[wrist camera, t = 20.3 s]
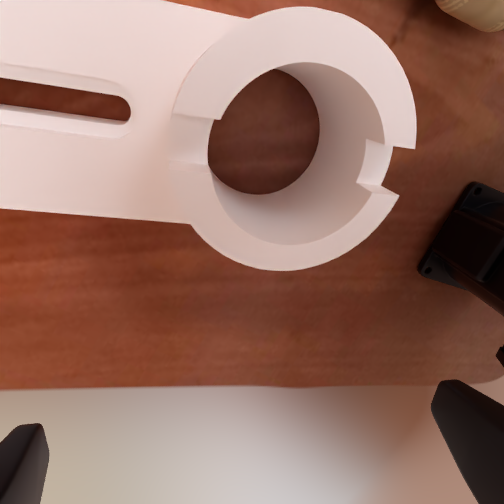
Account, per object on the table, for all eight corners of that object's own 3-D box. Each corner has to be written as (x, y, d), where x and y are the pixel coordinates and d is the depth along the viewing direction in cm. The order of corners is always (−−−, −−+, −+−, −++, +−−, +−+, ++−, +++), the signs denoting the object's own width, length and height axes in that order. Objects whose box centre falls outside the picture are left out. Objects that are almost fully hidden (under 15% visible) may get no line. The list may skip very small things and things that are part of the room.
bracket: (361, 52, 18) (453, 39, 12) (319, 220, 21) (374, 276, 15) (-142, -55, 13) (-407, -163, 7) (-88, 182, 17) (-235, 242, 11)
